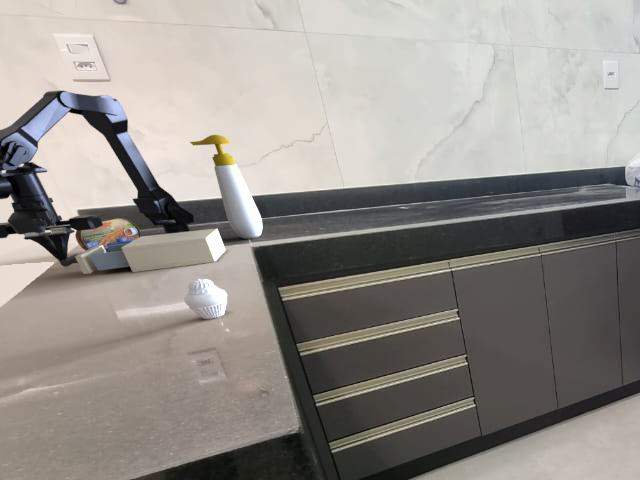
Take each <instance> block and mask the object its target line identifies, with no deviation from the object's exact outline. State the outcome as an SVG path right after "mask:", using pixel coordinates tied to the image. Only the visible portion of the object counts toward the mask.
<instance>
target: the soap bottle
mask: <svg viewBox="0 0 640 480" xmlns="http://www.w3.org/2000/svg"><path fill="white" fill-rule="evenodd" d="M189 143H190V144H191V145H192V146H208V145H209V146H210V145H214V147H215V149H216V152H217V153H214V154H213V156H212V157H211V158H212V160H213V164H214V167H213V169H214V173H215V177H216V180H217V184H218V188H219V191H220V196H221V199H222V203H223V207H224V211H225V216H226V219H227V221H228V224H229V227H231V229H232V230H233V232H234V233H235V234H236V235H237V236H238V237H240V238H241V239H243V240H244V239H245V240H251V239H252V240H253V239H256V238H259V237H260V236H261V235H262V233H263V219H262V216H261V213H260V211H259V209H258V206H257V205H256V203H255V200H254V198H253V196H252V194H251V191H250V190H249V187H248V185H247V183H246V182H245V179H244V177H243V175H242V173H241V171H240V168H239V167H238V165H237V164H236V162H235V160H234V157H233V155H230V153H225V151H224V149H223V146H222V145H225V144H231V143H232V142H231V140H230V139H228V138H227V137H225V136H223V135H219V134H210V135H209V136H206V137H205V138H204V139H202V140H196V141H189Z"/></svg>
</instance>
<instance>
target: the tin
mask: <svg viewBox="0 0 640 480" xmlns="http://www.w3.org/2000/svg"><path fill="white" fill-rule="evenodd" d="M101 221H102V223H103V226H101V227H98V228H96V229H91V230H81V231H77V230H75V233H74V235H75V239H76V242H77V244H78V245H79V246H80V248H82V249H83V250H84V251H87V250H89V249H91V248H93V247H95V246H97V245H103V246H104V248H107V243H109V242H111V241H116V239H117V238H125V240H130V239H138V238H139V237H142V234H141V230H140V228H139V227H138V225H136V224H135V223H134V222H133V221H132V220H129V219H127V218H122V217H116V218H113V219H108V220H101Z"/></svg>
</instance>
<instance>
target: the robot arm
mask: <svg viewBox="0 0 640 480" xmlns="http://www.w3.org/2000/svg"><path fill="white" fill-rule="evenodd" d="M68 113H70V114H74V115H79V116H82V117H83V118H84V119H85V121H86V122H87V123H88V125H90V126H91V127H92V128H94V129H95V130H96V131H98V133H100V134H101V135H102V136H103V137H104V138H105V139H106V142H107V143H108V144H109V145H108V146H110V148H111V150H112V151H113V152H114V154H115V156H116V158H117V159H118V161H119V163H120V164H121V166H122V167H123V169H124V171H125V172H126V174H127V176H128V178H129V180H131V182H132V184H133V185H134V188H136V191H137V196H136V197H134V198H132V202H133V203H134V204H135V205H136V207H137V209H138V211H139V214H143V216H144V217H145V218H146V219H148V220H149V221H150V222H151V223H152V224H153V225H154V226H162V229H163V232H164V234H170V233H179V232H189V231H191V229H190V227H189V224H191V223H195V222H194V221H195V219H194V214H192V213H191V212H190V211H188V210H186V209H185V208H183V207H181V206H180V204H179V202H178V201H177V200H176V199H175V198H174V196H173V195H172V194H170V193H169V192H168V191H166V190H165V189H164V188H163V187H161V185H160V184H159V183H158V181H157V180H156V177H155V176H154V175H153V172H152V171H151V169H150V168H149V166H148V164H147V162H146V160H145V159H144V157H143V155H142V154H141V152H140V150H139V149H138V147H137V145H136V143H135V142H134V140H133V138H132V137H131V135H130V133H129V130H128V129H129V128H128V127H129V119H128V116H127V114H126V111H125V109H124V107H123V105H122V104H121V102H120V101H119V100H118V99H117V98H114V97H112V96H111V95H108V94H106V95H105V94H101V95H90V94H82V93H75V92H70V91H67V90H49V91H46V92H45V93H44V94H43V95H42V97H41V98H40V99H39V100H38V101H37V102H36V103H34V105H32V106H31V107H30V108H29V109H27V111H26V112H24V113H23V114H22V115H21V116H20V117H19V118H17V119H16V120H15V121H14V122H13V123H12V124H10V125H9V126H7V127H5V128H2V129H0V200H7V199H9V198H10V197H11V199H12V202H11V203H10V204H11V207H12V210H13V212H12V213H11V214H10V215H9V217H8V219H7V221H6V222H0V239H7V238H8V237H9V236H10V235H23V239H24V240H26V241H28V240H30V241H32V242H35V243H37V244H38V245H40V246H41V247H42V248H44V249H45V250H46V251H47V252H48V253H49V254H50V255H51V256H52V257H54V258H55V259H56V260H57V261H58V262H60V261H62V260H64V259H66V258H68V254H69V253H68V252H69V251H68V249H69V241H70V237H71V234H73V233H76V231H81V230H91V229H96V228H98V227H101V226H103V223H102V221H103V220H102V219H101V218H100V217H99V216H98V215H97V214H84V215H76V216H73V217H70V218H68V219H67V220H63V218H62V216H61V215H60V214H59V215H58V213H57V211H56V208H55V207H54V204H53V203H54V200H53V198H52V197H49V195H48V193H47V191H46V189H45V187H44V185H43V183H42V181H41V180H40V177H39V176H38V174H41V173H42V174H43V173H48V169H46V168H44V167H42V166H40V165H37V163H35V162H32V160H33V158H34V157H35V155H36V153H37V152H38V149H39V142H40V140H41V139H42V138H43V136H46V134H47V133H48V132H49V131H50V130H51V129H52V128H53V127H54V126H56V125H57V123H59V122H60V121H61V120H62V119H63V118H64V117H65V116H66V115H67V114H68ZM21 165H22V166H21ZM3 171H5V172H3Z"/></svg>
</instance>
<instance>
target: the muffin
mask: <svg viewBox="0 0 640 480" xmlns="http://www.w3.org/2000/svg"><path fill="white" fill-rule="evenodd" d="M227 298H228V293H227V292H226V290H224V289H222V288H220V287H218V286H217V285H215V284H214V282H213V281H212V280H210V279H207V278H201V279H200V278H197V279H195V280H193V281H190V282H189V283H188V291H187V294H186V295H185V296H184V301H183V302H184V303H185V304H186V305H187V306H188V307H189V309H190V310H191V311H193V312H194V313H195V314H197V316H199V317H200V318H201V319H204V320H212V319H216V318H219V317H222V316H224V315H225V312H226V308H227V304H228V299H227Z"/></svg>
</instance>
